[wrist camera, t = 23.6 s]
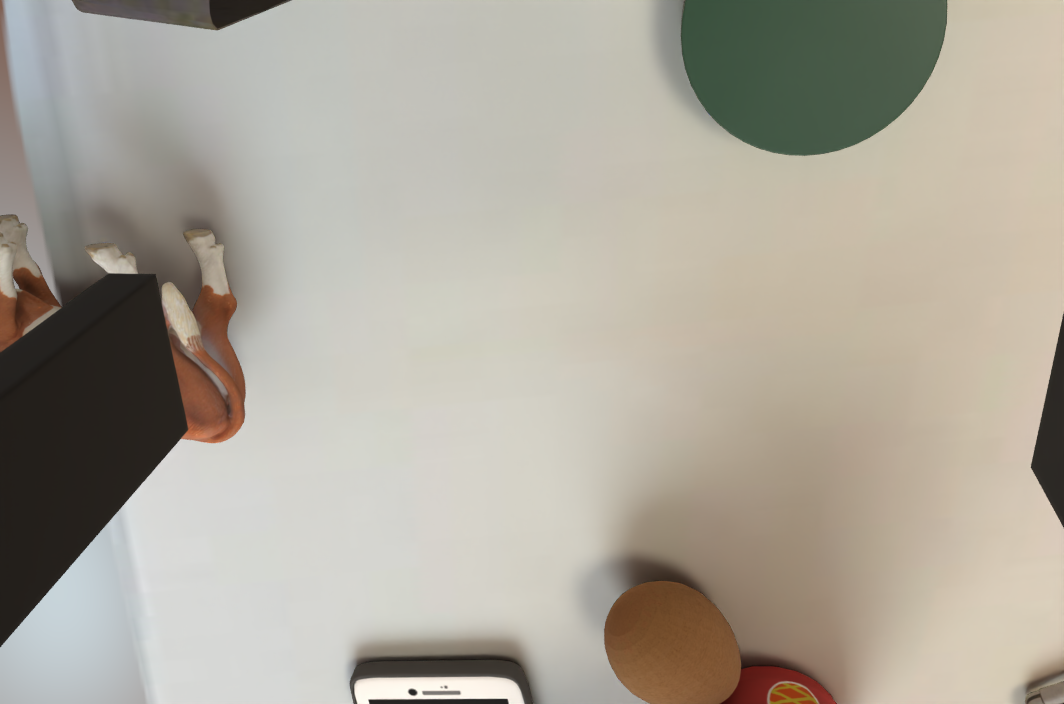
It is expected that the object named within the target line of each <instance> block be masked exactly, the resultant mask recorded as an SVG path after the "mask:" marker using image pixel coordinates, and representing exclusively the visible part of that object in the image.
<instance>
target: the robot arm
mask: <svg viewBox="0 0 1064 704" xmlns="http://www.w3.org/2000/svg"><path fill="white" fill-rule="evenodd" d="M188 430H189V429H188V425H187V420H186V415H185V410H184V406H183V401H182V396H181V392H180V387H179V382H178V378H177V373H176V368H175V363H174V359H173V354H172V349H171V345H170V340H169V335H168V330H167V326H166V321H165V316H164V312H163V307H162V302H161V298H160V293H159V288H158V283H157V279H156V274H123V273H109V274H107V275H106V276H104V277H103V278H102V279H100V280H99V281H98V282H96V283H95V284H93V285H92V286H91V287H89V288H88V289H87V290H85V291H84V292H83V293H81V294H80V295H78V296H77V297H76V298H74V299H73V300H72V301H70V302H69V303H67V304H66V305H65V306H63V307H62V308H61V309H59V310H58V311H56V312H55V313H54V314H52V315H51V316H50V317H48V318H47V319H46V320H44V321H43V322H41V323H40V324H39V325H37V326H36V327H35V328H33V329H32V330H30V331H29V332H28V333H26V334H25V335H24V336H22V337H21V338H19V339H18V340H17V341H15V342H14V343H13V344H11V345H10V346H9V347H7V348H6V349H4V350H3V351H2V352H0V647H1V645H3V643H4V642H5V641H6V640H7V639H8V638H9V636H10V635H11V634H12V633H13V632H14V631H15V629H16V628H17V627H18V626H19V625H20V624H21V622H22V621H23V620H24V619H25V618H26V617H27V616H28V615H29V613H30V612H31V611H32V610H33V609H34V608H35V606H36V605H37V604H38V603H39V602H40V601H41V600H42V598H43V597H44V596H45V595H46V594H47V593H48V591H49V590H50V589H51V588H52V586H54V584H55V583H56V582H57V581H58V580H59V579H60V578H61V576H62V575H63V574H64V573H65V572H66V571H67V569H68V568H69V567H70V566H71V565H72V564H73V563H74V561H75V560H76V559H77V558H78V557H79V556H80V554H81V553H82V552H83V551H84V550H85V549H86V548H87V546H88V545H89V544H90V543H91V542H92V541H93V539H94V538H95V537H96V535H98V534H99V533H100V531H101V530H102V529H103V528H104V527H105V526H106V524H107V523H108V522H109V521H110V520H111V519H112V518H113V516H114V515H115V514H116V513H117V512H118V511H119V509H120V508H121V507H122V506H123V505H124V504H125V503H126V501H127V500H128V499H129V498H130V497H131V496H132V494H133V493H134V492H135V491H136V490H137V489H138V488H139V486H140V485H141V484H142V483H143V482H144V481H145V479H146V478H147V477H148V476H149V475H150V474H151V473H152V471H153V470H154V469H155V468H156V467H157V466H158V464H159V463H160V462H161V461H162V460H163V459H164V458H165V456H166V455H167V454H168V453H169V452H170V451H171V449H172V448H173V447H174V446H175V445H176V444H177V443H178V441H179V440H180V439H181V438H182V437H183V436H184V434H185V433H186V432H187V431H188ZM1031 468H1032V470H1033V472H1034V474H1035V476H1036V477H1037V479H1038V481H1039V483H1040V485H1041V487H1042V489H1043V490H1044V492H1045V494H1046V496H1047V498H1048V500H1049V501H1050V503H1051V505H1052V507H1053V509H1054V511H1055V512H1056V514H1057V516H1058V518H1059V520H1060V522H1061V524H1062V525H1063V527H1064V314H1063V319H1062V323H1061V328H1060V333H1059V337H1058V342H1057V347H1056V351H1055V356H1054V361H1053V366H1052V370H1051V375H1050V380H1049V384H1048V389H1047V394H1046V398H1045V403H1044V408H1043V412H1042V417H1041V422H1040V427H1039V431H1038V436H1037V441H1036V445H1035V450H1034V455H1033V459H1032V464H1031Z"/></svg>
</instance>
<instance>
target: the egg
mask: <svg viewBox="0 0 1064 704" xmlns="http://www.w3.org/2000/svg"><path fill="white" fill-rule="evenodd" d="M604 639H605V649H606V653H607V656H608V660H609V662H610V665H611V667H612V669H613V670H614V672H615V674H616V676H617V678H618V679H619V680H620V681H621V683H622V684H623V685H624V686H625V687H626V688H627V689H628V690H629V691H630V692H631V693H633V694H634V695H636V696H637V697H639V698H641V699H642V700H644V701H646V702H648V703H650V704H720V703H722V702H723V701H725V700H726V699H727V698H728V697H729V696H730V695H731V694H732V693H733V692H734V690H735V689H736V687H737V685H738V682H739V679H740V673H741V659H740V652H739V648H738V645H737V642H736V639H735V636H734V633H733V632H732V630H731V628H730V626H729V624H728V622H727V621H726V619H725V618H724V616H723V615H722V614H721V612H720V611H719V610H718V608H717V607H716V606H715V605H714V604H713V603H712V602H711V601H709V600H708V599H707V598H706V597H705V596H704V595H702V594H701V593H700V592H699V591H697V590H695V589H693V588H690V587H688V586H686V585H684V584H681V583H677V582H669V581H653V582H645V583H642V584H640V585H637V586H635V587H633V588H631V589H629V590H627V591H626V592H625V593H623V594H622V595H621V596H620V597H619V598H618V599H617V601H616V602H615V603H614V605H613V606H612V608H611V610H610V612H609V614H608V616H607V619H606V623H605V629H604Z"/></svg>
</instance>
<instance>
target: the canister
mask: <svg viewBox="0 0 1064 704" xmlns="http://www.w3.org/2000/svg"><path fill="white" fill-rule="evenodd" d="M289 1H291V0H72V2H73V3H74V5H75V7H76V8H77V9H78V10H79V11H81V12H84V13H91V14H99V15H106V16H114V17H121V18H129V19H136V20H144V21H151V22H159V23H166V24H174V25H181V26H189V27H196V28H204V29H211V30H220V29H222V28H225V27H227V26H230V25H232V24H234V23H237V22H239V21H242V20H244V19H247V18H249V17H252V16H254V15H257V14H259V13H261V12H264V11H266V10H269V9H271V8H274V7H276V6H279V5H281V4H284V3H286V2H289Z"/></svg>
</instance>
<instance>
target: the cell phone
mask: <svg viewBox="0 0 1064 704" xmlns="http://www.w3.org/2000/svg"><path fill="white" fill-rule="evenodd" d="M350 689H351V694H352V699H353V703H354V704H533V702H532V697H531V693H530V688H529V685H528V682H527V679H526V677H525V674H524V671H523V670H522V669H521V667H520V666H519V665H517V664H515V663H513V662H510V661H503V660H439V661H378V662H368V663H363V664H361V665H358V666H357V667H356V668H355V670H354V673H353V675H352V677H351V680H350Z"/></svg>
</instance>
